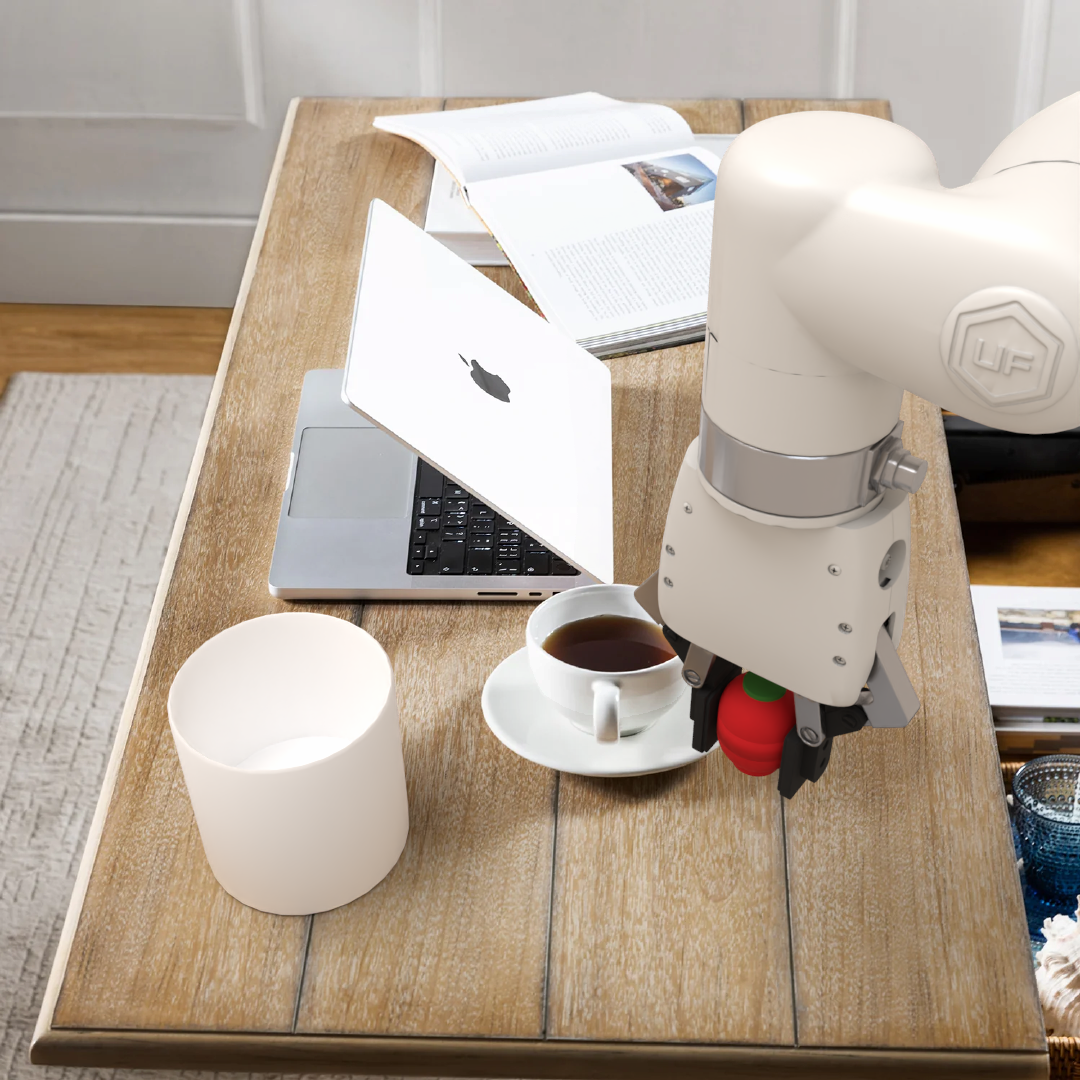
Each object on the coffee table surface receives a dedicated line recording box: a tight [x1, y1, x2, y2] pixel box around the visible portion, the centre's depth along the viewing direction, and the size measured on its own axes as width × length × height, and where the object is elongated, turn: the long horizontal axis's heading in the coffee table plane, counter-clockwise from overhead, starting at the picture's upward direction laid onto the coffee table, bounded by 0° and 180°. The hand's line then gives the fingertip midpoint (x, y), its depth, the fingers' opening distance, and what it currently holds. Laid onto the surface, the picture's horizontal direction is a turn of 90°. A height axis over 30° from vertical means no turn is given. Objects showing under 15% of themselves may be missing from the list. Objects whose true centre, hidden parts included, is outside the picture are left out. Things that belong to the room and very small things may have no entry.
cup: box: [166, 611, 410, 916], centre depth 70 cm, size 12×12×12 cm
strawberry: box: [717, 670, 796, 778], centre depth 60 cm, size 4×4×5 cm
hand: (756, 753), depth 61 cm, fingers closed on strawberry, 4 cm apart
